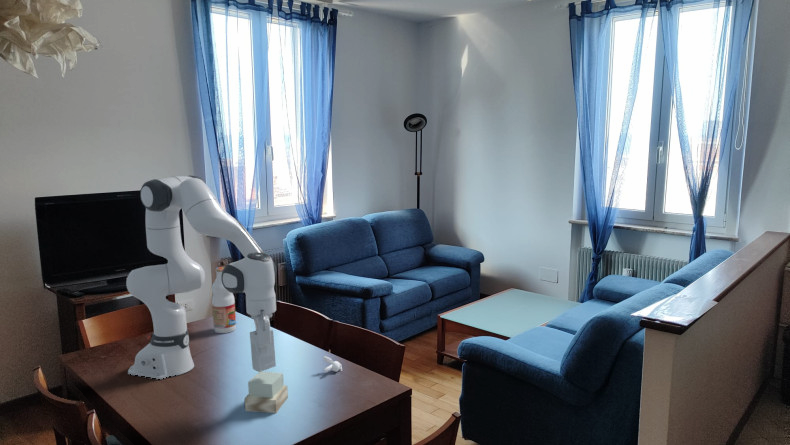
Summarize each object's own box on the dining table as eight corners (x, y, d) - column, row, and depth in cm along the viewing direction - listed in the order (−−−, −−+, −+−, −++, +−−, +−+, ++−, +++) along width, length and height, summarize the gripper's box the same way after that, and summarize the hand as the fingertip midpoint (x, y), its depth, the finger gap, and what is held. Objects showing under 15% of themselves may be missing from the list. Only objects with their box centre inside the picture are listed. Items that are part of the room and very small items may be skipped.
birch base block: (245, 411, 166) (244, 398, 165) (258, 396, 176) (257, 383, 175) (276, 414, 165) (275, 400, 164) (287, 398, 174) (287, 385, 174)
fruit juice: (214, 327, 241) (210, 266, 236) (236, 325, 243) (233, 264, 239) (213, 334, 232) (209, 271, 227) (235, 332, 234) (232, 269, 230)
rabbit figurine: (345, 373, 192) (326, 368, 188) (339, 379, 194) (320, 374, 190) (343, 359, 197) (325, 353, 193) (337, 365, 198) (319, 359, 194)
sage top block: (248, 395, 167) (248, 382, 166) (260, 384, 175) (260, 371, 174) (272, 398, 165) (272, 384, 165) (283, 386, 173) (283, 373, 172)
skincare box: (268, 363, 172) (266, 326, 170) (276, 366, 168) (274, 329, 167) (251, 369, 167) (248, 331, 166) (259, 373, 164) (256, 334, 163)
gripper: (274, 315, 156) (276, 360, 158) (269, 296, 176) (271, 336, 178) (252, 317, 154) (254, 363, 157) (249, 297, 174) (251, 339, 176)
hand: (263, 349), depth 167 cm, fingers closed on skincare box, 6 cm apart
